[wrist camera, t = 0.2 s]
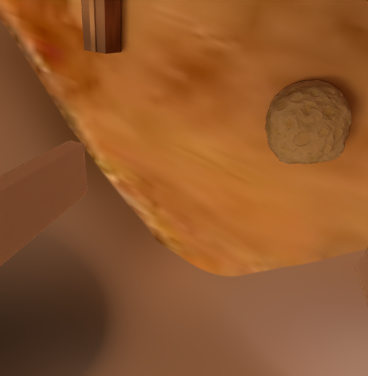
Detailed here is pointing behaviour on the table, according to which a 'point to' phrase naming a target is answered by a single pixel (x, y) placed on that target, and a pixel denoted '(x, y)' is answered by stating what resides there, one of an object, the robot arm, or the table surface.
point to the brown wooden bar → (101, 25)
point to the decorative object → (308, 123)
